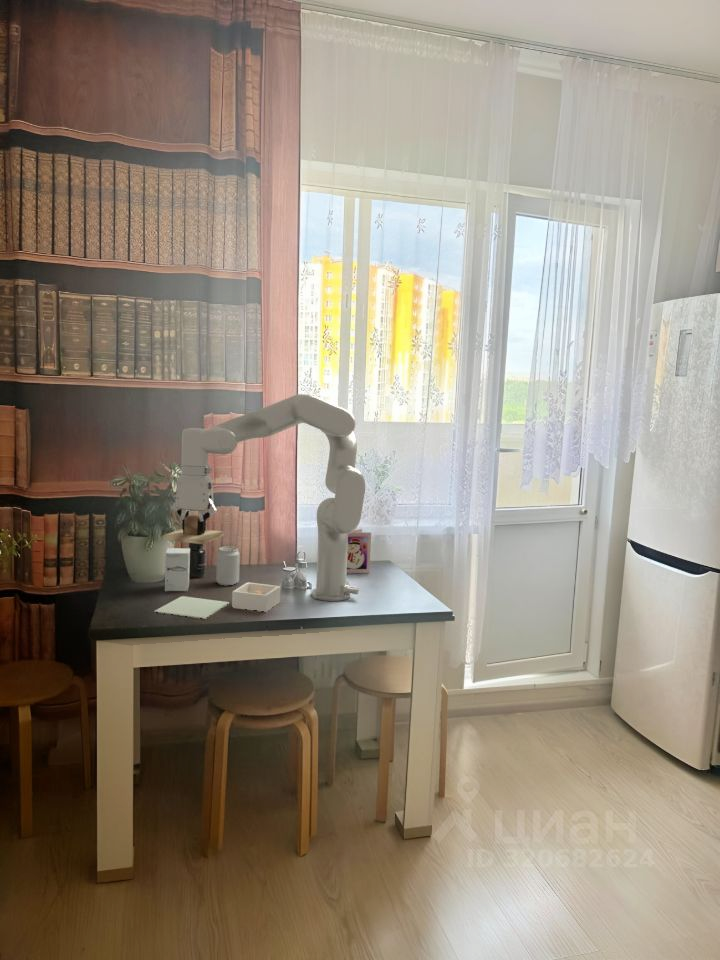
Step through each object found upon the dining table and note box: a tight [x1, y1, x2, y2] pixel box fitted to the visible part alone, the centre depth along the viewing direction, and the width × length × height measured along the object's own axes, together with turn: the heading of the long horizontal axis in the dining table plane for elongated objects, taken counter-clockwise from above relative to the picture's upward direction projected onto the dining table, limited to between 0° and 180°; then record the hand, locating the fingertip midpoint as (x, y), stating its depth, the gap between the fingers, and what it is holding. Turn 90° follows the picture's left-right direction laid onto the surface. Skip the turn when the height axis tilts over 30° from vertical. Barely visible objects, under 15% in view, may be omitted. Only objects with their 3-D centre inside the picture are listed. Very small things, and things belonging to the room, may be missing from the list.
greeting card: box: [346, 528, 372, 574], centre depth 266 cm, size 11×7×15 cm, turn 101°
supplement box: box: [164, 547, 190, 592], centre depth 235 cm, size 7×7×13 cm
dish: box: [231, 581, 282, 613], centre depth 222 cm, size 11×11×5 cm
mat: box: [154, 595, 230, 620], centre depth 217 cm, size 16×16×1 cm
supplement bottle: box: [187, 543, 207, 579], centre depth 251 cm, size 7×7×12 cm
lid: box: [161, 514, 225, 545], centre depth 213 cm, size 13×13×6 cm
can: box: [215, 546, 241, 587], centre depth 243 cm, size 8×8×12 cm
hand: (193, 532), depth 214 cm, fingers closed on lid, 4 cm apart
